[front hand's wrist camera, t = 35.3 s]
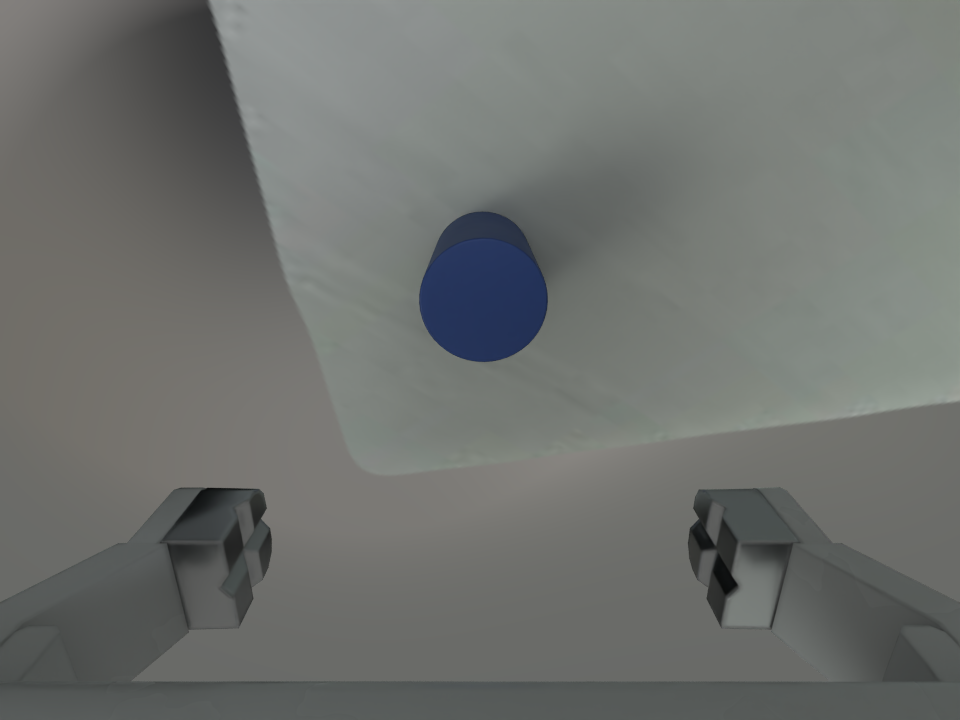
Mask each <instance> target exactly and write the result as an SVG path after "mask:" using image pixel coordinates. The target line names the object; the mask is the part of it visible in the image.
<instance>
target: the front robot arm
mask: <svg viewBox="0 0 960 720" xmlns="http://www.w3.org/2000/svg"><path fill="white" fill-rule="evenodd" d="M266 509H267V507H266V502H265V498H264V493H263V492H262V491H261V490H260V489H240V488H179V489H175V490H173V492H171V494H170V495H169V496H168V497H167V498H166V499H165V501H164V502H163V503H162V504H161V505H160V506H159V507H158V509H157V510H156V511H155V512H154V513H153V514H152V515H151V516H150V518H149V519H148V520H147V521H146V522H145V523H144V524H143V526H142V527H141V528H140V529H139V530H138V531H137V532H136V533H135V535H134V536H133V537H132V538H131V539H130V540H129V542H128V543H118V544H116V545H114V546H112V547H110V548H108V549H106V550H104V551H102V552H100V553H98V554H96V555H94V556H92V557H90V558H88V559H86V560H84V561H82V562H80V563H78V564H76V565H74V566H72V567H70V568H68V569H66V570H64V571H62V572H60V573H58V574H56V575H54V576H52V577H50V578H48V579H46V580H44V581H42V582H40V583H38V584H36V585H34V586H32V587H30V588H28V589H26V590H24V591H22V592H20V593H18V594H16V595H14V596H12V597H10V598H8V599H6V600H4V601H2V602H0V720H960V602H958V601H956V600H954V599H952V598H950V597H948V596H946V595H944V594H942V593H940V592H938V591H936V590H934V589H932V588H930V587H928V586H926V585H924V584H922V583H920V582H918V581H916V580H914V579H912V578H910V577H908V576H906V575H904V574H902V573H900V572H898V571H896V570H894V569H892V568H890V567H888V566H886V565H884V564H882V563H880V562H878V561H876V560H874V559H872V558H870V557H868V556H866V555H864V554H862V553H860V552H858V551H856V550H854V549H852V548H850V547H848V546H846V545H844V544H842V543H832V542H831V540H830V539H829V538H828V537H827V536H826V535H825V534H824V532H823V531H822V530H821V529H820V528H819V527H818V526H817V524H816V523H815V522H814V521H813V520H812V519H811V518H810V516H809V515H808V514H807V513H806V512H805V511H804V510H803V509H802V507H801V506H800V505H799V504H798V503H797V502H796V500H795V499H794V498H793V497H792V496H791V495H790V494H789V493H788V491H787V490H785V489H783V488H780V487H774V488H753V489H707V490H698V493H697V495H696V497H695V502H694V507H693V509H694V510H695V512H696V514H697V516H698V518H699V520H698V521H697V522H696V523H695V524H694V525H693V526H692V527H691V528H690V532H689V540H688V548H689V559H690V562H691V566H692V569H693V571H694V574H695V576H696V578H697V580H698V581H700V582H701V583H703V584H704V585H705V586H707V587H708V593H707V600H708V602H709V604H710V606H711V608H712V610H713V612H714V614H715V616H716V618H717V620H718V622H719V624H720V626H721V628H730V629H765V630H771V632H772V633H773V634H774V635H775V636H777V637H778V638H779V639H780V640H781V641H782V642H784V643H785V644H786V645H787V646H788V647H790V648H791V649H792V650H793V651H794V652H795V653H797V654H798V655H799V656H800V657H801V658H803V659H804V660H805V661H806V662H807V663H809V664H810V665H811V666H812V667H813V668H815V669H816V670H817V671H818V672H819V673H821V674H822V675H823V676H824V677H825V678H826V679H828V680H829V681H830V682H421V681H419V682H418V681H417V682H414V681H413V682H412V681H398V682H396V681H389V682H388V681H386V682H385V681H381V682H379V681H375V682H374V681H372V682H371V681H370V682H369V681H367V682H366V681H364V682H140V681H131V680H133V679H134V678H135V677H136V676H137V675H139V674H140V673H141V672H142V671H143V670H144V669H146V668H147V667H148V666H149V665H150V664H152V663H153V662H154V661H155V660H156V659H158V658H159V657H160V656H161V655H162V654H164V653H165V652H166V651H167V650H168V649H170V648H171V647H172V646H173V645H174V644H175V643H177V642H178V641H179V640H180V639H181V638H183V637H184V636H185V635H186V634H187V633H188V632H189V631H188V630H194V629H228V628H239V626H240V624H241V622H242V620H243V618H244V616H245V614H246V612H247V610H248V608H249V606H250V604H251V602H252V600H253V594H252V587H253V586H255V585H256V584H257V583H259V582H260V581H262V580H263V578H264V576H265V574H266V571H267V569H268V566H269V562H270V557H271V552H272V538H271V532H270V528H269V527H268V526H267V525H266V524H265V523H264V522H263V521H262V520H261V517H262V516H263V514H264V512H265V510H266Z"/></svg>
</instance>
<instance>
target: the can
mask: <svg viewBox="0 0 960 720" xmlns="http://www.w3.org/2000/svg"><path fill="white" fill-rule="evenodd" d="M547 303H548V296H547V288H546V284H545V281H544V277H543V275H542V273H541V271H540V269H539V266H538V264H537V262H536V260H535V257H534V255H533V253H532V251H531V249H530V246H529V244H528V242H527V240H526V238H525V236H524V234H523V233H522V231H521V230H520V229H519V228H518V226H516V225H515V224H514V223H513V222H512V221H510V220H509V219H507V218H506V217H504V216H501V215H499V214H496V213H491V212H474V213H470V214H467V215H464V216H462V217H460V218H458V219H456V220H455V221H454V222H452V223H451V224H450V225H449V226H448V227H447V228H446V229H445V230H444V232H443V233H442V235H441V236H440V238H439V241H438V243H437V245H436V248H435V250H434V253H433V255H432V258H431V260H430V263H429V265H428V268H427V270H426V273H425V275H424V278H423V281H422V284H421V288H420V295H419V304H420V312H421V316H422V319H423V322H424V324H425V326H426V328H427V330H428V332H429V333H430V335H431V336H432V337H433V339H434V340H435V341H436V342H437V343H438V344H439V345H440V346H441V347H443V348H444V349H445V350H446V351H448V352H450V353H451V354H453V355H455V356H458V357H460V358H463V359H466V360H471V361H477V362H489V361H496V360H501V359H504V358H507V357H509V356H511V355H513V354H515V353H517V352H519V351H520V350H522V349H523V348H524V347H525V346H527V345H528V344H529V343H530V342H531V341H532V340H533V339H534V337H535V336H536V334H537V333H538V332H539V330H540V328H541V326H542V324H543V321H544V319H545V315H546V311H547Z"/></svg>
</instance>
